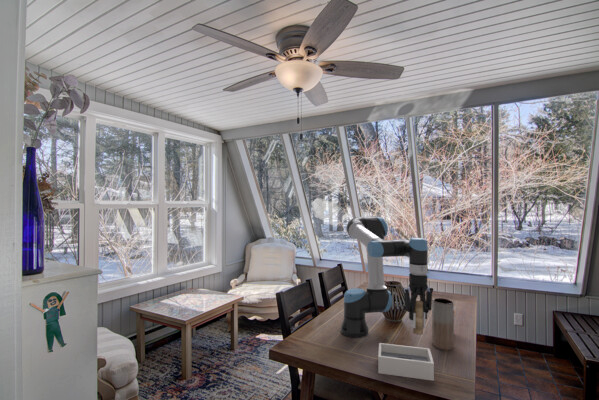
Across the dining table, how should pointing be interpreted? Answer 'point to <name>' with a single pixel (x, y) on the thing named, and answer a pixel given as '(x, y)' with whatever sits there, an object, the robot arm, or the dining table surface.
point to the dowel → (418, 317)
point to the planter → (443, 323)
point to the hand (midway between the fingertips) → (417, 326)
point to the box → (405, 361)
